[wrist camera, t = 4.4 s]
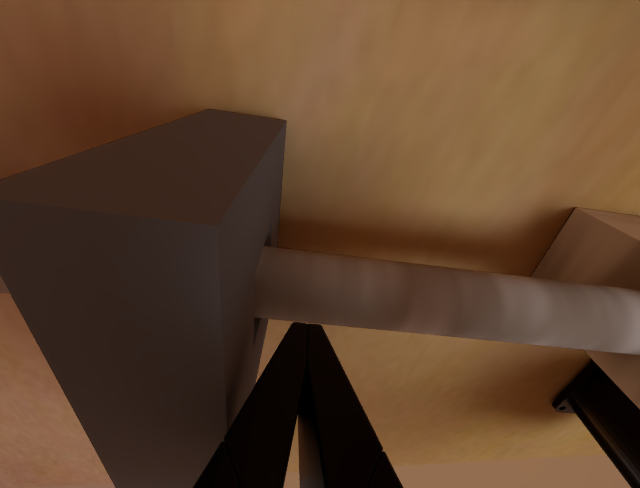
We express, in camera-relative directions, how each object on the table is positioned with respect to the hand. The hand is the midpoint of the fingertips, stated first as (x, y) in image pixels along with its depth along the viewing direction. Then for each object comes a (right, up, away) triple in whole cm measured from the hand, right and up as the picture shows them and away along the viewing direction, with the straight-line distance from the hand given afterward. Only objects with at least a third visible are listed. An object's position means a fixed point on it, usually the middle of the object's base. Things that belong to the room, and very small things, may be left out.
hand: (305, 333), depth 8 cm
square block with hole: (-3, +4, +6) cm, 8 cm away
